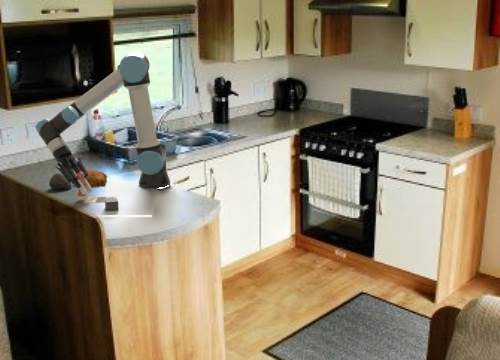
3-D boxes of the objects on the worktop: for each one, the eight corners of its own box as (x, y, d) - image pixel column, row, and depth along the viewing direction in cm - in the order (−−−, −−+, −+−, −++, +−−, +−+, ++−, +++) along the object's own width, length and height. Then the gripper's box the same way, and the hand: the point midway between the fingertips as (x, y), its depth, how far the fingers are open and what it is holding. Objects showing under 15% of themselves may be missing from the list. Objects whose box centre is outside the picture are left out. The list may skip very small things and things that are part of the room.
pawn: (86, 194, 276) (85, 170, 273) (85, 196, 273) (84, 172, 270) (78, 194, 276) (77, 170, 273) (77, 196, 272) (75, 172, 269)
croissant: (92, 194, 293) (92, 178, 290) (69, 184, 301) (69, 169, 298) (114, 186, 305) (114, 171, 302) (92, 177, 312) (92, 162, 309)
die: (117, 208, 267) (116, 197, 265) (118, 212, 262) (118, 201, 261) (105, 209, 265) (104, 198, 264) (106, 213, 261) (106, 202, 259)
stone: (70, 193, 299) (57, 177, 300) (77, 183, 294) (63, 168, 294) (55, 201, 291) (41, 185, 292) (62, 191, 286) (48, 175, 287)
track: (115, 198, 280) (115, 196, 280) (113, 204, 272) (113, 202, 272) (80, 198, 279) (79, 196, 278) (76, 204, 271) (76, 202, 271)
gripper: (69, 151, 284) (97, 192, 280) (42, 158, 271) (70, 201, 267) (77, 141, 280) (105, 183, 276) (49, 148, 267) (78, 191, 263)
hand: (87, 192), depth 272 cm, fingers closed on pawn, 2 cm apart
